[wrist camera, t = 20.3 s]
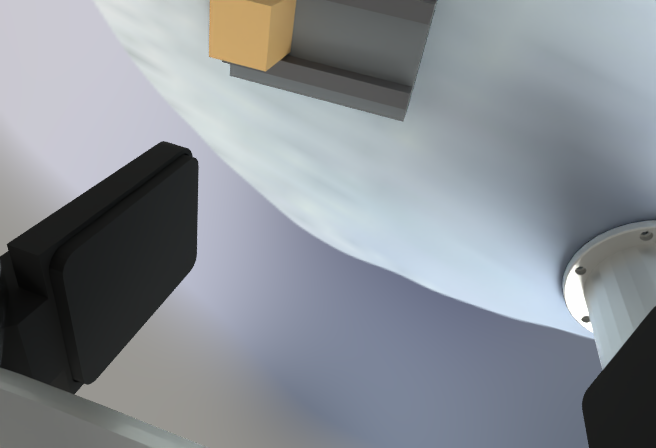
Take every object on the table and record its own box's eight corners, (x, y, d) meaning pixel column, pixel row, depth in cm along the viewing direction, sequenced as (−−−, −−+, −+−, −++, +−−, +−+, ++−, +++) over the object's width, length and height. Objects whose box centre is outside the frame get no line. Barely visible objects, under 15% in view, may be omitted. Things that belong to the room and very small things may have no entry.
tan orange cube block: (297, -7, 33) (271, 6, 29) (290, 51, 35) (265, 71, 31) (242, -20, 33) (209, -9, 29) (239, 38, 36) (209, 56, 32)
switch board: (445, -29, 31) (442, -22, 29) (406, 111, 37) (400, 129, 35) (247, -74, 33) (226, -71, 30) (240, 68, 39) (221, 81, 36)
